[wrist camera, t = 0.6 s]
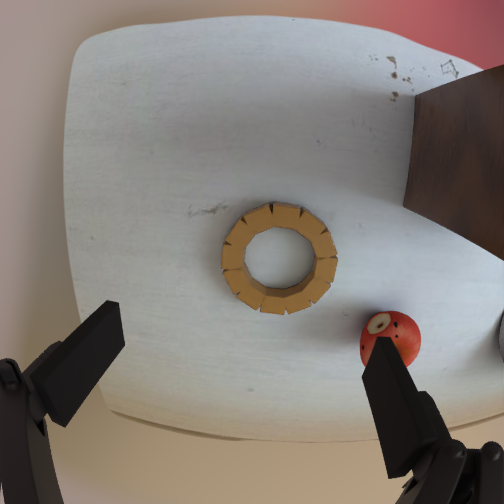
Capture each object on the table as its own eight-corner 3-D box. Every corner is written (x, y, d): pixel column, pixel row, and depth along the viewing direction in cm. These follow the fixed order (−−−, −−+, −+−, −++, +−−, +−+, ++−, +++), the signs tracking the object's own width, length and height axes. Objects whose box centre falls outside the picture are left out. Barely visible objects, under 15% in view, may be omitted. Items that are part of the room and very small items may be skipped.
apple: (353, 301, 30) (377, 357, 21) (408, 293, 29) (447, 343, 20) (350, 355, 33) (367, 415, 23) (401, 347, 32) (428, 401, 22)
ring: (230, 196, 28) (226, 199, 26) (341, 211, 27) (346, 215, 25) (222, 297, 32) (219, 306, 30) (322, 310, 31) (324, 319, 29)
